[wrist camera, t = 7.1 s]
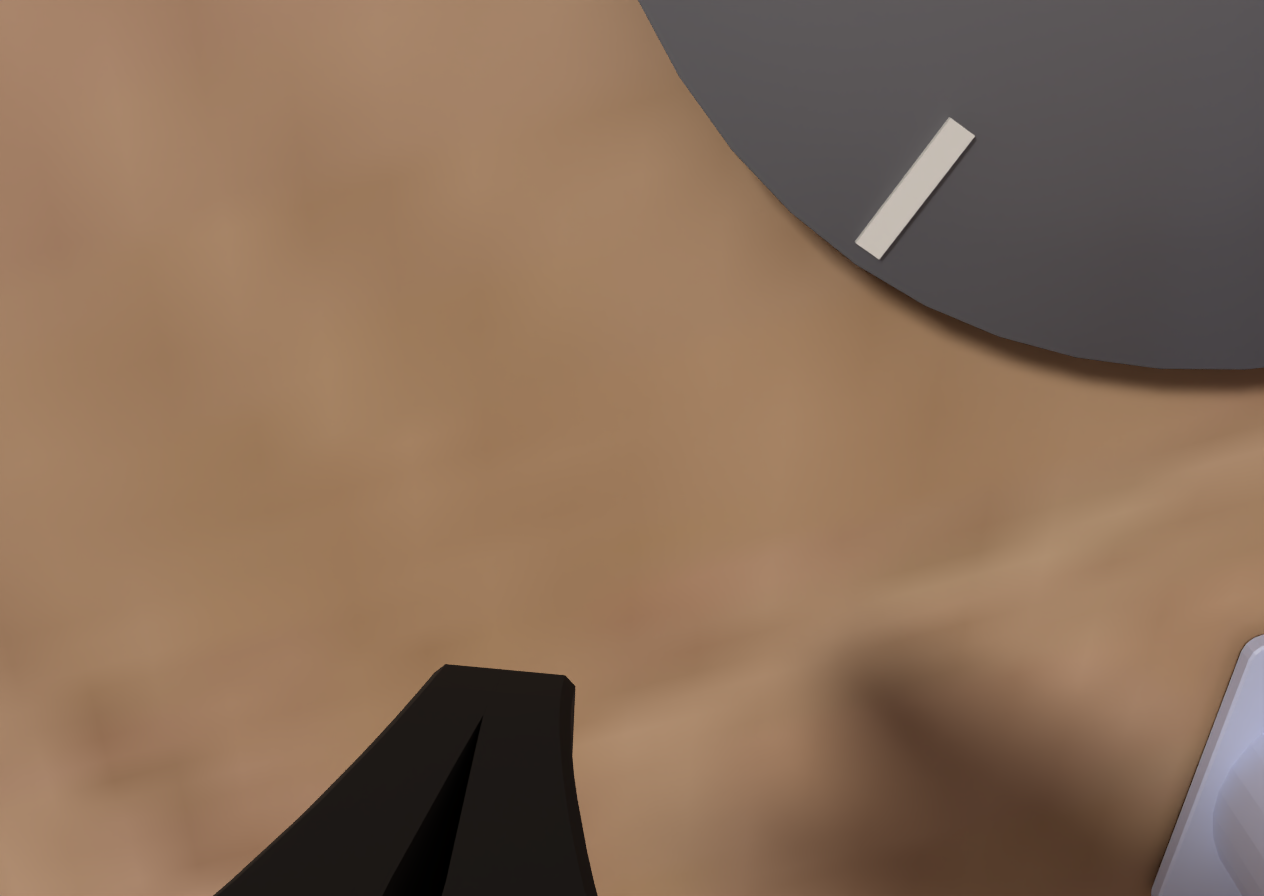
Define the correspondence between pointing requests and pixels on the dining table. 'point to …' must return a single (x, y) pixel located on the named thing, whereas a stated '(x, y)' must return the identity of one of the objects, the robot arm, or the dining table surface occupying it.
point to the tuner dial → (1012, 156)
